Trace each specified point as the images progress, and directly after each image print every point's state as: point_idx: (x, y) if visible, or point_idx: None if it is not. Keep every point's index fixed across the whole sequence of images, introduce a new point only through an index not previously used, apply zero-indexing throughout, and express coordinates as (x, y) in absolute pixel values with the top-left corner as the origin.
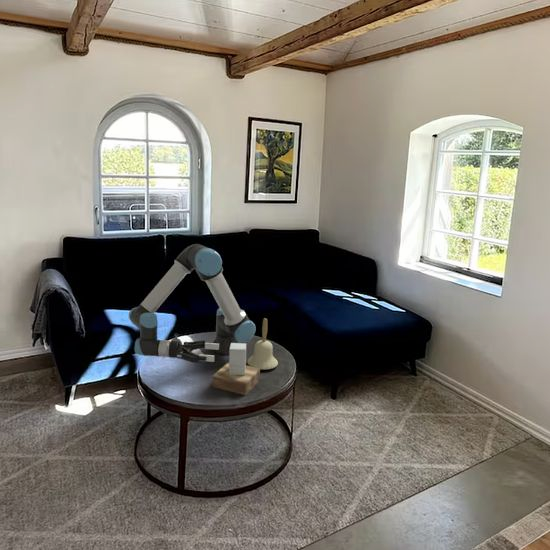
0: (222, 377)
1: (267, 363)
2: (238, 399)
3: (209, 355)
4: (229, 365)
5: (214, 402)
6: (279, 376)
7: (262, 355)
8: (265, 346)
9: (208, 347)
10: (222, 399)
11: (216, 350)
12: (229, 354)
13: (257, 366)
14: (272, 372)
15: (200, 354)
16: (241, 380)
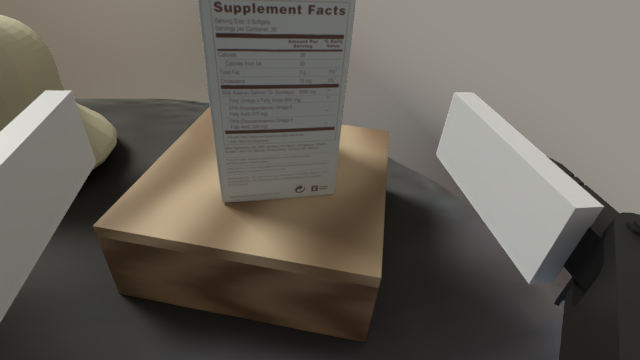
0: (383, 221)
1: (91, 114)
2: (429, 203)
3: (493, 116)
4: (340, 132)
5: (534, 286)
6: (169, 120)
7: (55, 90)
8: (29, 30)
9: (20, 245)
10: (475, 258)
11: None
12: (349, 41)
13: (96, 152)
14: (126, 135)
15: (565, 195)
16: (376, 144)
